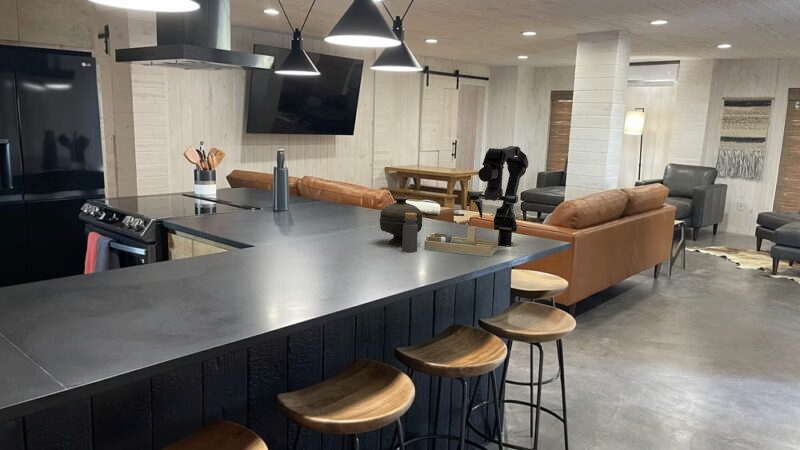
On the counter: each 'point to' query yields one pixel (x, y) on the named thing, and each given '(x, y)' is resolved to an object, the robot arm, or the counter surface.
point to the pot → (398, 219)
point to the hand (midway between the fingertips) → (492, 218)
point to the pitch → (464, 247)
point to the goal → (435, 237)
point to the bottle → (410, 233)
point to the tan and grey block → (470, 237)
